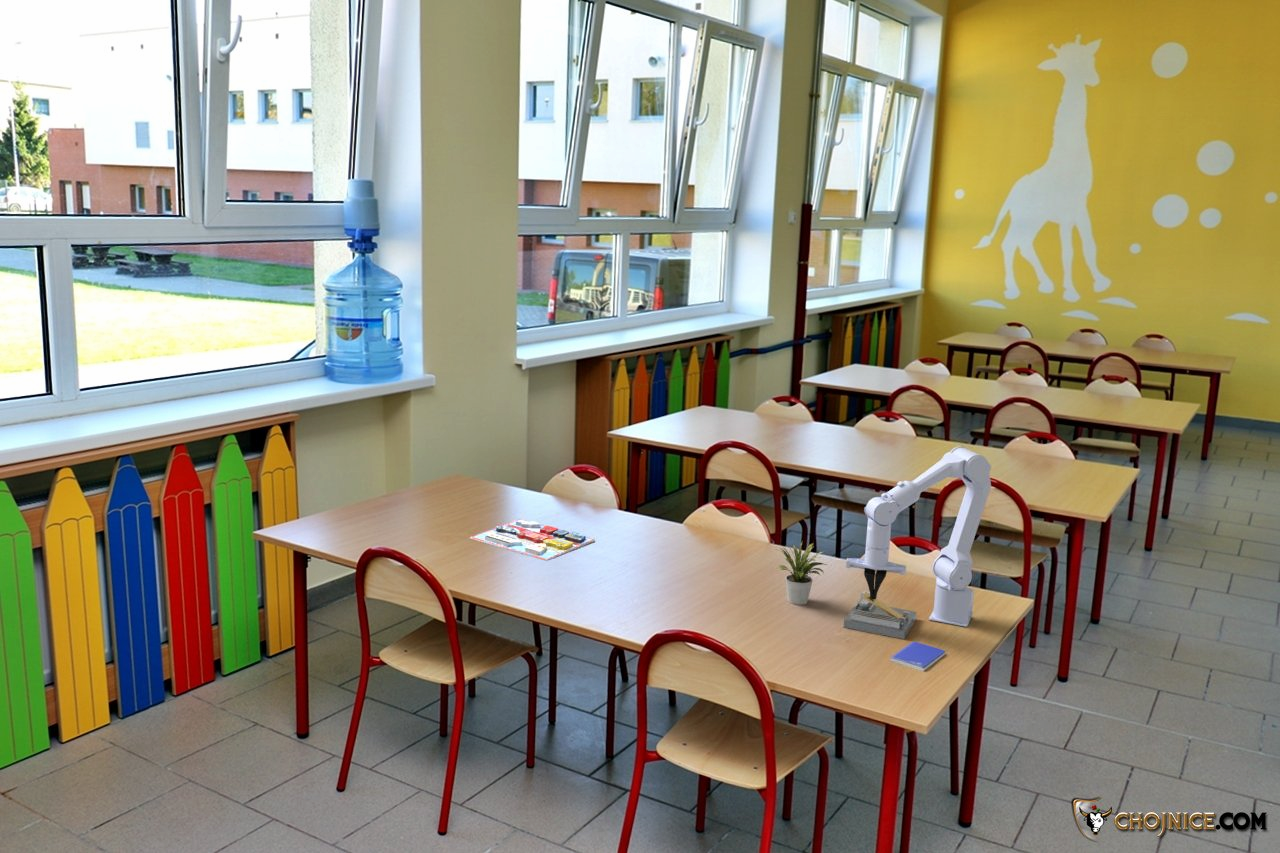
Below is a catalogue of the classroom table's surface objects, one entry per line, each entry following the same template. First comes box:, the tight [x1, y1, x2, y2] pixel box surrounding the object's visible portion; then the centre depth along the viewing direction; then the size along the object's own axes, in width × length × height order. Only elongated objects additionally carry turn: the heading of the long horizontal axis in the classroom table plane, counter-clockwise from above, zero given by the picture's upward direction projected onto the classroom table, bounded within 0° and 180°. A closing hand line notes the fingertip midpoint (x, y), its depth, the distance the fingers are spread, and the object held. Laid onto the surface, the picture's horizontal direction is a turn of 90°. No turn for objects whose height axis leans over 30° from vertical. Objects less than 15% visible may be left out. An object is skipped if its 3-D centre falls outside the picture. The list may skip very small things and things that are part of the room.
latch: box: [859, 590, 872, 607], centre depth 281 cm, size 3×5×3 cm, turn 155°
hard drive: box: [889, 641, 946, 672], centre depth 256 cm, size 2×8×12 cm
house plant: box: [775, 541, 828, 606], centre depth 286 cm, size 14×14×16 cm
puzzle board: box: [469, 518, 596, 562], centre depth 331 cm, size 30×23×3 cm
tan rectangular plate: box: [862, 592, 904, 618], centre depth 273 cm, size 11×3×1 cm, turn 66°
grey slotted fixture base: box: [843, 597, 918, 640], centre depth 275 cm, size 15×15×4 cm
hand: (873, 597), depth 274 cm, fingers closed
